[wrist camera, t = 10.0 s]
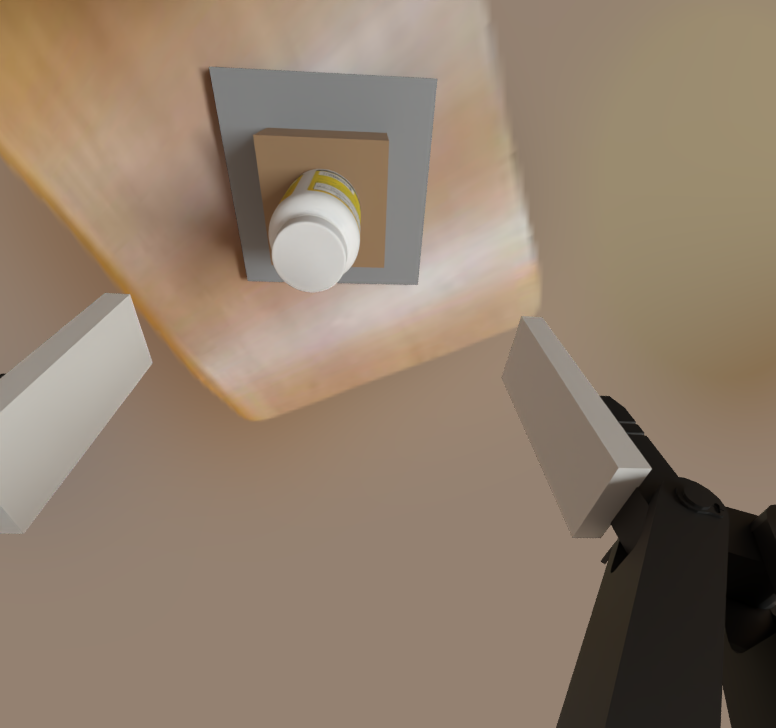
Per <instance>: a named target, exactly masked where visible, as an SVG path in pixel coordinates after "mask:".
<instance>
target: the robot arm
mask: <svg viewBox="0 0 776 728" xmlns="http://www.w3.org/2000/svg"><path fill="white" fill-rule="evenodd" d="M151 364H152V360H151V357H150V353H149V350H148V347H147V345H146V341H145V338H144V336H143V332H142V330H141V327H140V324H139V320H138V317H137V314H136V311H135V308H134V305H133V302H132V299H131V296H130V294H115V293H104V294H103V295H102V296H101V297H99V298H98V299H97V300H96V301H95V302H93V303H92V304H91V305H90V306H88V307H87V308H86V309H85V310H83V311H82V312H81V313H80V314H79V315H77V316H76V317H75V318H74V319H73V320H71V321H70V322H69V323H68V324H66V325H65V326H64V327H63V328H61V329H60V330H59V331H58V332H57V333H55V334H54V335H53V336H52V337H50V338H49V339H48V340H47V341H46V342H44V343H43V344H42V345H41V346H39V347H38V348H37V349H36V350H35V351H33V352H32V353H31V354H30V355H28V356H27V357H26V358H25V359H24V360H23V361H21V362H20V363H19V364H17V365H16V366H15V367H14V368H13V369H11V370H10V371H9V372H8V373H6V374H0V533H14V534H16V533H17V534H19V533H20V534H21V533H22V534H23V533H25V531H26V530H27V529H28V527H29V526H30V525H31V523H32V522H33V521H34V519H35V518H36V517H37V515H38V514H39V513H40V512H41V510H42V509H43V508H44V506H45V505H46V504H47V502H48V501H49V500H50V498H51V497H52V496H53V494H54V493H55V492H56V490H57V489H58V487H59V486H60V485H61V484H62V482H63V481H64V479H65V478H66V477H67V476H68V474H69V473H70V472H71V470H72V469H73V468H74V466H75V465H76V464H77V463H78V461H79V460H80V459H81V457H82V456H83V455H84V453H85V452H86V450H87V449H88V448H89V447H90V445H91V444H92V443H93V441H94V440H95V439H96V437H97V436H98V435H99V433H100V432H101V431H102V429H103V428H104V427H105V425H106V424H107V423H108V421H109V420H110V419H111V417H112V416H113V415H114V413H115V412H116V411H117V410H118V408H119V407H120V405H121V404H122V403H123V402H124V400H125V399H126V398H127V396H128V395H129V394H130V392H131V391H132V390H133V388H134V387H135V385H136V384H137V383H138V382H139V380H140V379H141V377H142V376H143V375H144V374H145V372H146V371H147V370H148V368H149V367H150V366H151ZM502 380H503V382H504V384H505V387H506V389H507V391H508V394H509V396H510V398H511V400H512V403H513V405H514V407H515V409H516V411H517V414H518V416H519V418H520V421H521V423H522V425H523V427H524V430H525V432H526V434H527V436H528V439H529V441H530V443H531V445H532V447H533V450H534V452H535V454H536V457H537V459H538V461H539V463H540V466H541V468H542V470H543V472H544V475H545V477H546V479H547V481H548V483H549V486H550V488H551V490H552V493H553V495H554V497H555V499H556V502H557V504H558V506H559V508H560V511H561V513H562V515H563V518H564V520H565V522H566V524H567V527H568V529H569V531H570V533H571V535H572V538H601V537H602V536H603V535H604V533H605V532H606V530H607V529H608V528H609V526H610V525H612V527H613V529H614V531H615V533H616V534H617V536H618V540H617V541H616V542H615V543H614V544H613V546H612V547H611V548H610V550H609V551H608V552H607V553H606V555H605V556H604V557H603V559H602V560H601V562H602V563H604V564H606V562H607V561H608V563H607V566H606V570H605V573H604V576H603V579H602V582H601V586H600V589H599V592H598V595H597V598H596V602H595V605H594V608H593V611H592V615H591V618H590V621H589V624H588V627H587V630H586V634H585V637H584V640H583V643H582V646H581V650H580V653H579V656H578V659H577V662H576V666H575V669H574V672H573V675H572V678H571V682H570V685H569V688H568V691H567V695H566V698H565V701H564V704H563V707H562V711H561V714H560V717H559V720H558V723H557V727H556V728H720V726H721V701H722V685H723V690H724V694H725V699H726V703H727V709H728V713H729V718H730V723H731V727H732V728H776V505H770V506H769V507H768V508H767V509H766V510H765V511H764V512H763V513H761V514H760V515H759V516H757V515H754V514H750V513H747V512H743V511H739V510H736V509H732V508H729V507H725V506H724V504H723V503H722V502H721V500H720V499H719V498H718V497H717V496H716V495H714V494H713V493H712V492H711V491H710V490H708V489H707V488H705V487H704V486H702V485H700V484H699V483H697V482H694V481H691V480H689V479H686V478H682V477H678V476H677V474H676V473H675V472H674V471H673V469H672V468H671V467H670V465H669V464H668V463H667V462H666V460H665V459H664V458H663V456H662V455H661V454H660V453H659V451H658V450H657V449H656V447H655V446H654V445H653V444H652V442H651V441H650V440H649V438H648V437H647V436H644V432H643V431H642V429H641V428H640V427H639V426H638V425H637V424H635V420H634V419H633V418H632V416H631V415H630V414H629V413H628V411H627V410H626V409H625V408H624V407H623V406H622V405H620V404H619V403H618V402H616V401H615V400H614V399H612V398H611V397H610V396H599V395H598V393H597V392H596V391H595V389H594V388H593V387H592V385H591V384H590V382H589V381H588V380H587V378H586V377H585V376H584V374H583V373H582V371H581V370H580V369H579V367H578V366H577V364H576V363H575V362H574V360H573V359H572V358H571V356H570V355H569V353H568V352H567V351H566V349H565V348H564V347H563V345H562V344H561V342H560V341H559V340H558V338H557V337H556V335H555V334H554V333H553V331H552V330H551V329H550V327H549V326H548V324H547V323H546V322H545V320H544V319H543V318H542V317H527V316H521V319H520V322H519V325H518V328H517V331H516V335H515V338H514V341H513V344H512V347H511V350H510V353H509V356H508V360H507V363H506V365H505V368H504V372H503V375H502Z"/></svg>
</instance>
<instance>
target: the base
mask: <svg viewBox="0 0 776 728" xmlns="http://www.w3.org/2000/svg"><path fill="white" fill-rule="evenodd" d="M209 70H210V76H211V81H212V87H213V92H214V98H215V103H216V109H217V114H218V120H219V125H220V131H221V136H222V142H223V147H224V152H225V158H226V163H227V169H228V174H229V180H230V185H231V191H232V196H233V202H234V207H235V213H236V218H237V224H238V229H239V235H240V240H241V246H242V251H243V257H244V262H245V268H246V273H247V279H248V281H267V282H285V281H284V280H283V279H282V278H281V277H280V276H279V275H278V273H277V271H276V270H275V268H274V265H273V261H272V249H271V246H270V243H269V235H268V232H269V224H270V220H271V217H272V215H273V213H274V211H275V209H276V207H277V206H278V204H279V203H280V201H281V199H282V198H283V196H284V195H285V193H286V192H287V190H288V188H289V187H290V185H291V184H292V183H293V182H294V180H295V179H296V178H297V177H299V176H300V175H301V174H303V173H305V172H307V171H309V170H313V169H327V170H331V171H334V172H336V173H338V174H340V175H341V176H343V177H344V178H345V179H347V180H348V181H349V183H350V184H351V185H352V186H353V188H354V189H355V191H356V193H357V196H358V199H359V202H360V207H361V222H360V246H359V251H358V255H357V257H356V259H355V262H354V263H353V265H352V266H351V267H350V269H349V270H348V271H347V272H346V273H344V274H343V275H342V277H341V279H340V280H339V281H338V282H337V283H358V284H404V285H418V277H419V266H420V256H421V245H422V235H423V224H424V214H425V203H426V193H427V182H428V171H429V161H430V150H431V140H432V129H433V119H434V108H435V97H436V87H437V79H433V78H414V77H395V76H376V75H357V74H338V73H319V72H300V71H281V70H262V69H243V68H224V67H209Z"/></svg>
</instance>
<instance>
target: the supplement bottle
mask: <svg viewBox="0 0 776 728" xmlns="http://www.w3.org/2000/svg"><path fill="white" fill-rule="evenodd" d="M360 222H361V207H360V202H359V199H358V196H357V193H356V191H355V189H354V188H353V186H352V185H351V184H350V183H349V181H348V180H347V179H345V178H344V177H343V176H341V175H340V174H338V173H336V172H334V171H331V170H327V169H313V170H309V171H307V172H305V173H303V174H301V175H300V176H299V177H297V178H296V179H295V180H294V182H293V183H292V184H291V185H290V187H289V188H288V190H287V192H286V193H285V195H284V196H283V198H282V199H281V201H280V203H279V204H278V206H277V207H276V209H275V211H274V213H273V215H272V217H271V220H270V224H269V232H268V235H269V243H270V246H271V249H272V261H273V265H274V268H275V270H276V271H277V273H278V275H279V276H280V277H281V278H282V279H283V280H284V281H285V282H286V283H287V284H288V285H290V286H291V287H293V288H295V289H298V290H300V291H304V292H320V291H324V290H327V289H329V288H331V287H332V286H334V285H335V284H336V283H337V282H338V281H339V280H340V279H341V277H342V275H343V274H344V273H346V272H347V271H348V270H349V269H350V267H351V266H352V265H353V263H354V262H355V259H356V257H357V255H358V251H359V246H360Z"/></svg>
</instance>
